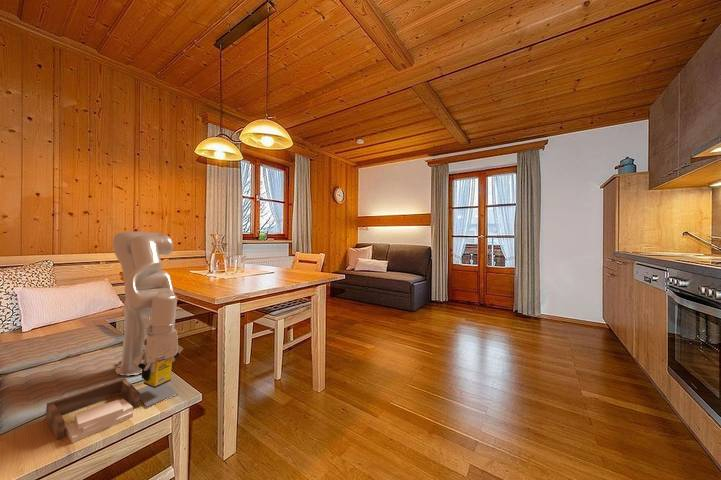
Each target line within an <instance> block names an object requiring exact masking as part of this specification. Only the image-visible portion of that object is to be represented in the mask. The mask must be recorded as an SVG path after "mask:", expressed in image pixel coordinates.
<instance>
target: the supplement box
mask: <svg viewBox="0 0 721 480" xmlns="http://www.w3.org/2000/svg"><path fill="white" fill-rule="evenodd" d="M172 358H173V357H170V358H167V359H166V358H165V356H161V357H158V358H156V362H154V363H151V365H150V366H149V368H148V369H149V370H150V373H149V380H148V381H146V380H144V379H143V385H144V386H150V387H153V388H156V387H159V386H161V385H163V384H165V383H167V384H168V383H169V382H171V377H172V372H171V369H172ZM172 370H173V369H172Z"/></svg>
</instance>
